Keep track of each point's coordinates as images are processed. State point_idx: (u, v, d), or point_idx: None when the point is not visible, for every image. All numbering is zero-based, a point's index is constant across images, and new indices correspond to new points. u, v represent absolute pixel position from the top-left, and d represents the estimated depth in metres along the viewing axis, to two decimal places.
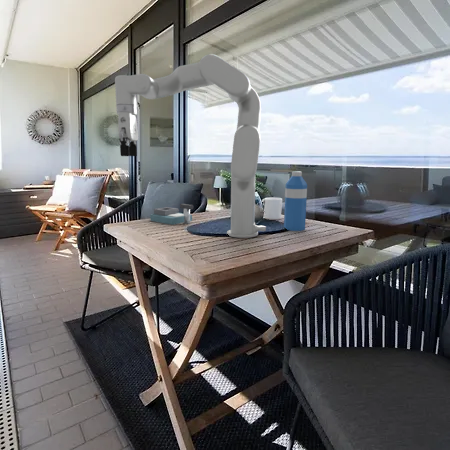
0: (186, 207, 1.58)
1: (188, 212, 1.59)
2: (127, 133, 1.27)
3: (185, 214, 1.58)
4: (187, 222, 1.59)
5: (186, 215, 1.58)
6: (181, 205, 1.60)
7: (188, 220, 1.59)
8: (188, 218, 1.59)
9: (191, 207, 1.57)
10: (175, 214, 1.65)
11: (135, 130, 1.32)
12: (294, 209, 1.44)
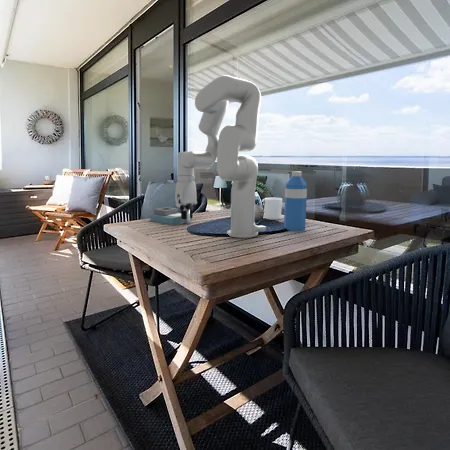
0: (186, 207, 1.58)
1: (188, 212, 1.59)
2: None
3: None
4: (187, 222, 1.59)
5: None
6: None
7: (188, 220, 1.59)
8: (188, 218, 1.59)
9: (191, 207, 1.57)
10: (175, 214, 1.65)
11: None
12: (294, 209, 1.44)
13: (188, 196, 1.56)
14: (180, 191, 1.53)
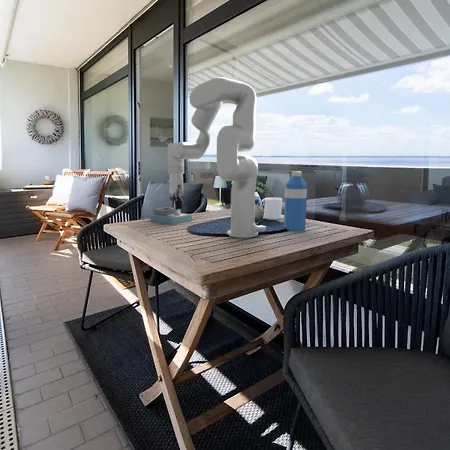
0: None
1: None
2: None
3: None
4: (180, 214, 1.64)
5: None
6: (171, 197, 1.61)
7: None
8: None
9: None
10: None
11: (171, 185, 1.60)
12: (294, 209, 1.44)
13: None
14: (181, 181, 1.57)
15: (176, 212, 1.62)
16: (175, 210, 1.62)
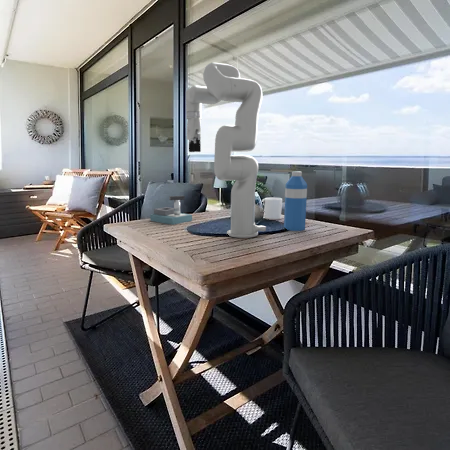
0: (179, 198, 1.62)
1: None
2: None
3: (178, 205, 1.62)
4: (180, 213, 1.64)
5: (179, 206, 1.63)
6: (172, 197, 1.61)
7: None
8: None
9: None
10: None
11: (189, 131, 1.66)
12: (294, 209, 1.44)
13: None
14: (199, 126, 1.63)
15: (176, 212, 1.62)
16: (175, 210, 1.62)
